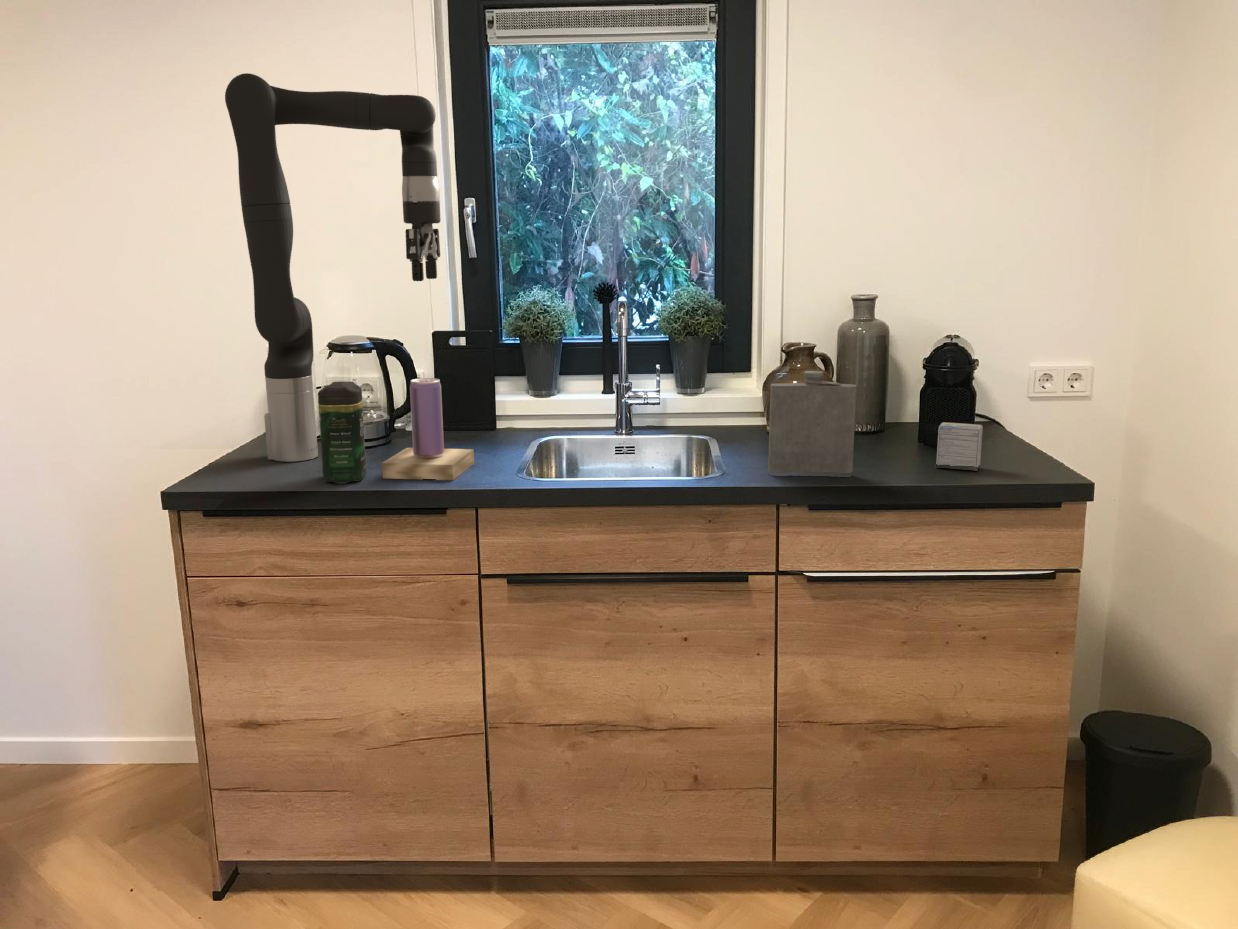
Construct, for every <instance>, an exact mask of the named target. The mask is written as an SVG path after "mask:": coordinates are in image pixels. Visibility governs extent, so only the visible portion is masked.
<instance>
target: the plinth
mask: <svg viewBox="0 0 1238 929" xmlns="http://www.w3.org/2000/svg"><path fill="white" fill-rule="evenodd" d="M474 453H475V451H474V449H473V448H469V449H467V448H444V453H443V455H442V456H441V457H438V458H431V459H422V458H417V457H415V455H414V454H413V447H406V448H404V449H402V450H400V451H399V452H397V453H396V454H394V455H392V456H391V457H389V458H388V459H386V460H384V461H383V462H381V469H382V479H398V480H423V479H436V480H435V481H455V480H456V479H457V478H458V477H460V475H462V474H463V473H464V472H466V471H468V469H469V468H471V467H472V466H473V465H475V454H474Z"/></svg>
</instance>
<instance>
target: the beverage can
mask: <svg viewBox="0 0 1238 929" xmlns="http://www.w3.org/2000/svg"><path fill="white" fill-rule="evenodd" d="M440 381H441V380H440V378H433V377H432V378H431V377H424V378H422V377H421V378H415V379H414V378H413V379H411V380H410V384H409V394H410V395H409V397H410V415H411V416H410V417H411V435H412V448H413V454H414V455H415V457H417V458H422V459H431V458H438V457H441V456H442V455H443V453H444V449H445V443H444V420H443V398H442V384H441V382H440Z"/></svg>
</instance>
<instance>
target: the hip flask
mask: <svg viewBox="0 0 1238 929" xmlns="http://www.w3.org/2000/svg"><path fill="white" fill-rule="evenodd" d="M803 377H805V378H804V382H799V383H798V382H791V383H790V382H788V383H787V382H785V383H784V382H781V383H771V384H770V391H769V392H770V398H769V399H770V400H769V402H770V403H769V429H768V430H769V433H768V434H769V436H768V463H767V466H768V468H767V473H768V472H770V473H787V472H835V473H837V472H838V473H851V472H852V473H853V466H854V446H855V445H854V444H855V428H856V426H855V423H856V403H857V385H856V384H852V383H851V384H850V383H849V384H848V383H841V382H835V381H823V379H822V378H823V377H824V371H820V370H806V371H803Z"/></svg>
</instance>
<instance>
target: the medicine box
mask: <svg viewBox="0 0 1238 929" xmlns="http://www.w3.org/2000/svg"><path fill="white" fill-rule="evenodd" d="M983 429H984V428H983V425H982V424H973V423H960V422H959V423H958V422H945V421H944V422H941V423H940V425H939V426H938V430H937V431H938V433H937V434H938V435H937V447H936V450H937V451H936V464H937V465H950V466H974V467H978V466H979V465H980V466H981V459H982V458H981V457H982V446H983V445H982V443H983V442H982V441H983ZM936 464H935V465H936Z"/></svg>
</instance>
